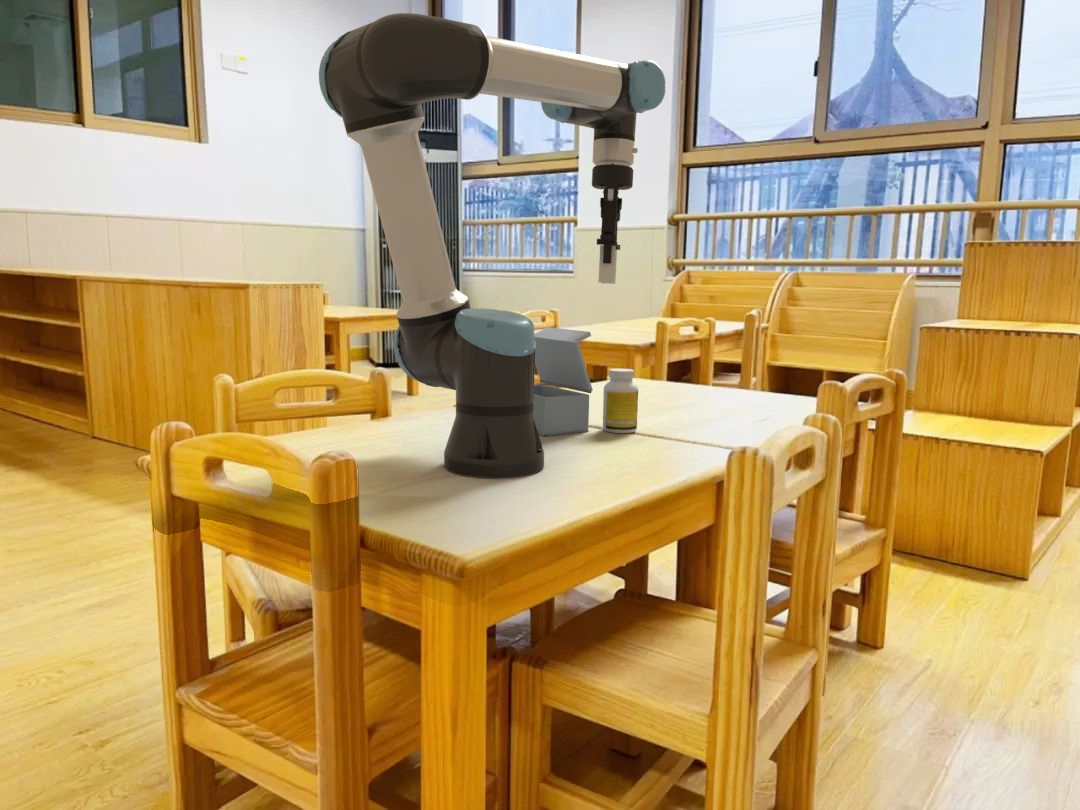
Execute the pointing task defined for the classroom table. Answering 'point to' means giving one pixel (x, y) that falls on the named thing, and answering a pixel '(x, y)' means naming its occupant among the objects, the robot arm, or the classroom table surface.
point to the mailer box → (560, 411)
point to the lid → (561, 358)
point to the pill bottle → (620, 402)
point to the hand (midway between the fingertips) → (607, 283)
